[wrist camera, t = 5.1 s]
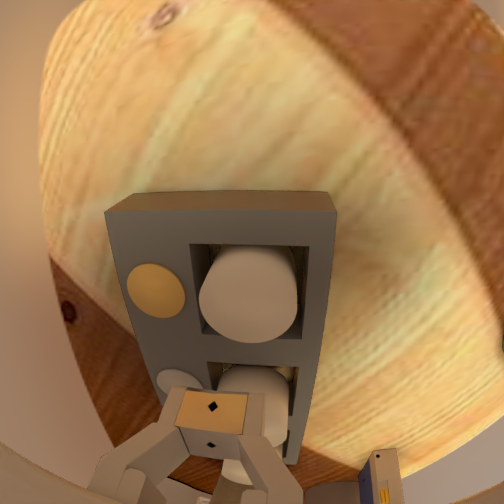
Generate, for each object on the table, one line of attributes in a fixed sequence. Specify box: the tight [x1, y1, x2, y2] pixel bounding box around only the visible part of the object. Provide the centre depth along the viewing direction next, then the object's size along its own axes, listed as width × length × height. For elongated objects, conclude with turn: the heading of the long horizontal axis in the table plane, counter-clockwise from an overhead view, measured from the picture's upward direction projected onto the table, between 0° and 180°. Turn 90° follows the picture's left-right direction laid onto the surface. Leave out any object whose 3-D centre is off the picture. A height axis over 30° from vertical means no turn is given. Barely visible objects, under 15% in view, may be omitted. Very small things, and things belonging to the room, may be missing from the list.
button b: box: [217, 364, 289, 448], centre depth 15 cm, size 4×4×3 cm
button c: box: [199, 244, 297, 343], centre depth 14 cm, size 4×4×3 cm
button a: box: [221, 443, 283, 485], centre depth 18 cm, size 4×4×3 cm
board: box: [104, 191, 337, 465], centre depth 18 cm, size 22×10×3 cm, turn 2°
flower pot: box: [209, 473, 255, 504], centre depth 23 cm, size 9×9×9 cm
